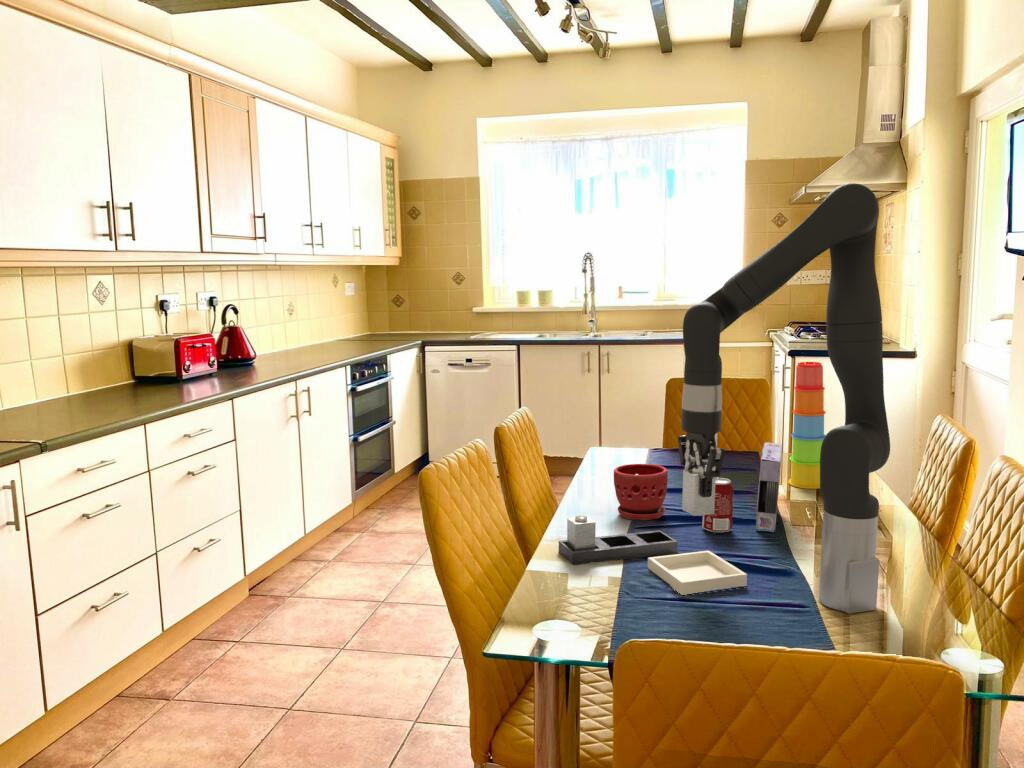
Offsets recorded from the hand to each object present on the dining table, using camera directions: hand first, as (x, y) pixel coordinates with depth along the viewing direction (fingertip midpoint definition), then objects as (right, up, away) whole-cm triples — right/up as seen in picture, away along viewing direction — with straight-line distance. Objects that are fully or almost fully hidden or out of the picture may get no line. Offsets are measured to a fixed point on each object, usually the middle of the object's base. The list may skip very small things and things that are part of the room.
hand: (698, 492), depth 163 cm
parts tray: (0, -17, +3) cm, 17 cm away
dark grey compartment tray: (-14, -15, +16) cm, 26 cm away
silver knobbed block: (0, -4, +1) cm, 4 cm away
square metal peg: (-22, -15, +13) cm, 30 cm away
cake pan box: (+25, -12, +39) cm, 48 cm away
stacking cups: (+47, -7, +72) cm, 86 cm away
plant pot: (-5, -12, +44) cm, 45 cm away
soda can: (+11, -13, +32) cm, 37 cm away
